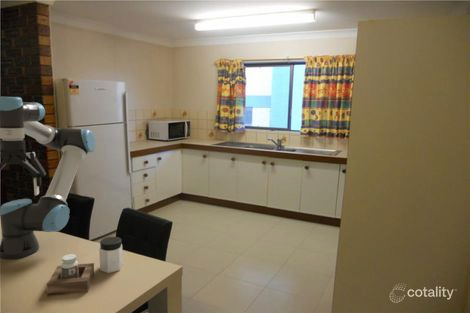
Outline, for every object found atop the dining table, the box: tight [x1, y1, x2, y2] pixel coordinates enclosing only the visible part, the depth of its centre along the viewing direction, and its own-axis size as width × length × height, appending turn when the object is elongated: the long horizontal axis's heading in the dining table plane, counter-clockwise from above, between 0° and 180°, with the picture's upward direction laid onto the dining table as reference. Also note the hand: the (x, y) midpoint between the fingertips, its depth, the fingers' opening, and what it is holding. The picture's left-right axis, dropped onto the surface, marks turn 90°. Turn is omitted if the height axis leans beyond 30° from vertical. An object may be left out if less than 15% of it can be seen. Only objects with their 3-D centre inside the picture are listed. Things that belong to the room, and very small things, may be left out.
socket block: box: [46, 262, 95, 297], centre depth 121 cm, size 13×13×4 cm
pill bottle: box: [60, 253, 79, 279], centre depth 120 cm, size 6×6×10 cm
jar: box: [98, 236, 124, 274], centre depth 133 cm, size 9×8×12 cm
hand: (16, 195), depth 123 cm, fingers open, 13 cm apart
